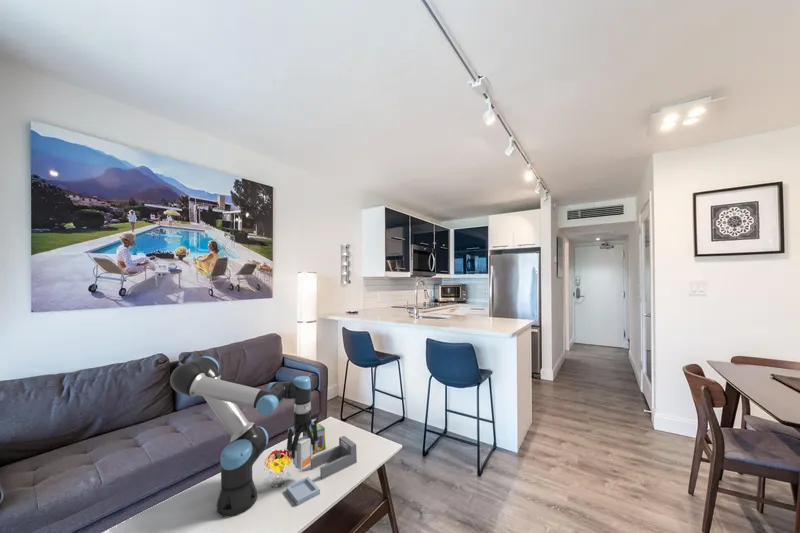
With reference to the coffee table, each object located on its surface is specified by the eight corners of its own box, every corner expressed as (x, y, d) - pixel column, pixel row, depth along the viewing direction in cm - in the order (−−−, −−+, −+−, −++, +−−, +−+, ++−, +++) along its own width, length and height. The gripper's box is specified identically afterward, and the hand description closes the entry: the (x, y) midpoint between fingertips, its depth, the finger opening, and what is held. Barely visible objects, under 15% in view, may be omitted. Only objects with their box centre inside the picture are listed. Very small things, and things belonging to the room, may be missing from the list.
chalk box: (325, 448, 169) (325, 421, 170) (310, 455, 163) (309, 427, 164) (318, 442, 176) (317, 416, 177) (302, 448, 170) (301, 421, 171)
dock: (322, 479, 144) (321, 459, 144) (310, 468, 153) (310, 449, 153) (356, 462, 156) (356, 444, 156) (344, 452, 165) (344, 435, 165)
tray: (297, 505, 128) (297, 500, 128) (286, 490, 137) (286, 486, 137) (320, 493, 134) (319, 489, 134) (308, 480, 143) (308, 476, 143)
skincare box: (301, 470, 141) (300, 443, 141) (294, 467, 143) (294, 441, 143) (311, 463, 146) (310, 437, 146) (305, 460, 148) (304, 435, 148)
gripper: (284, 420, 136) (284, 474, 135) (325, 407, 149) (326, 456, 148) (278, 414, 141) (278, 466, 141) (318, 402, 154) (318, 449, 154)
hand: (302, 460), depth 144 cm, fingers closed on skincare box, 7 cm apart
